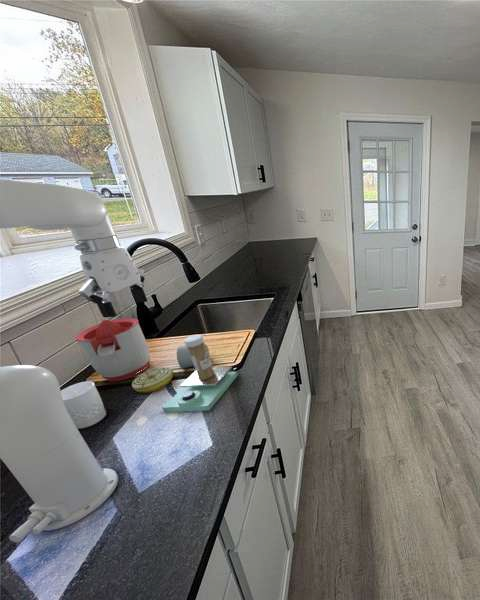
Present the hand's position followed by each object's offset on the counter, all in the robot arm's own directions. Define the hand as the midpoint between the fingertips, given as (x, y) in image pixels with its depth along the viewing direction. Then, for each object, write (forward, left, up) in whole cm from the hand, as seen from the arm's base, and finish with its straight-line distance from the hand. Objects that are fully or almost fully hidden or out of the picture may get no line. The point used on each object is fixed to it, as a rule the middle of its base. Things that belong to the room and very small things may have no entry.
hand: (126, 308), depth 83 cm
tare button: (-4, -11, -26) cm, 29 cm away
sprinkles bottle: (+5, -11, -26) cm, 28 cm away
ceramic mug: (+18, +2, -29) cm, 34 cm away
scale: (+1, -11, -29) cm, 31 cm away
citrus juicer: (+13, +23, -29) cm, 39 cm away
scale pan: (+5, -11, -26) cm, 29 cm away
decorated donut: (+6, +8, -29) cm, 31 cm away
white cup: (-9, +15, -29) cm, 34 cm away
